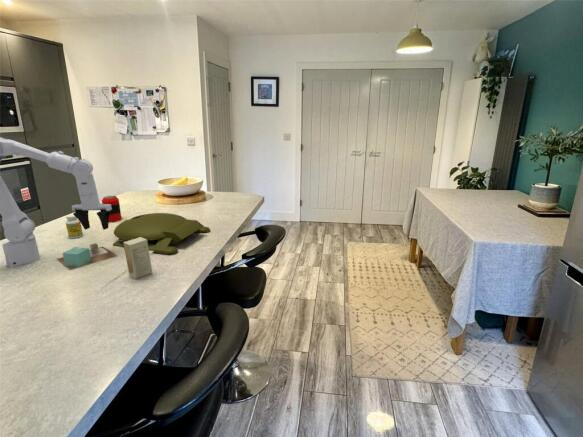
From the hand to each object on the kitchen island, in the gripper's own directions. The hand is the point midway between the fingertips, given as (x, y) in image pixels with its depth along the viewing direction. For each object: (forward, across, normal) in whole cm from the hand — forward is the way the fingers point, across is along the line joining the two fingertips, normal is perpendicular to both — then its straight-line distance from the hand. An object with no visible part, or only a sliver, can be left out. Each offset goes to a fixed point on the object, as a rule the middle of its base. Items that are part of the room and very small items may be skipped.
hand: (96, 228), depth 127 cm
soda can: (+10, +22, -40) cm, 47 cm away
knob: (+9, +1, +11) cm, 14 cm away
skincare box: (+11, -24, +15) cm, 30 cm away
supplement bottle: (+10, +24, -16) cm, 30 cm away
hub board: (+10, +1, +6) cm, 12 cm away
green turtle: (+12, -13, -19) cm, 26 cm away
